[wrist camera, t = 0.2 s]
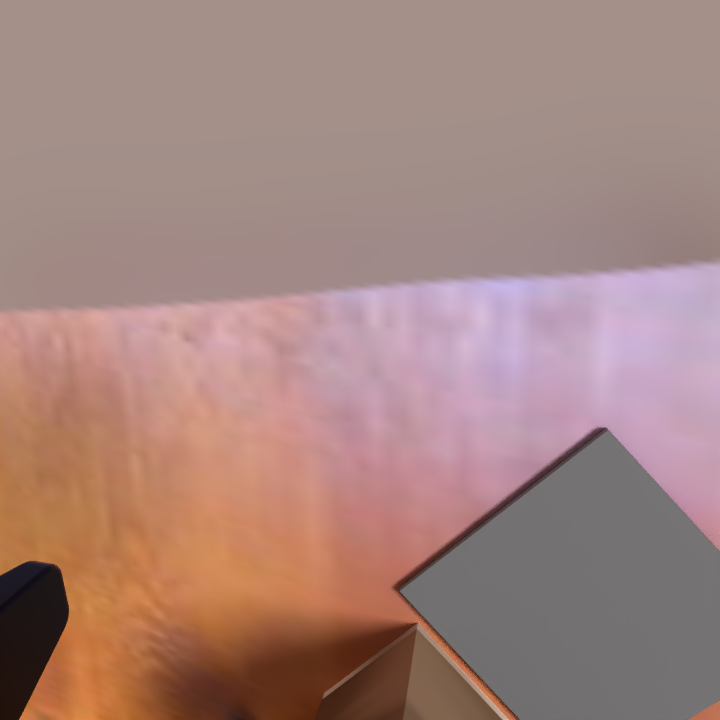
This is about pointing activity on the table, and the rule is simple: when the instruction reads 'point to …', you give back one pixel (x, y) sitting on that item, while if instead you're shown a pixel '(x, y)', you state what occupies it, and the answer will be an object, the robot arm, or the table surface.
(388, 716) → the walnut block
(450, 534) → the table surface
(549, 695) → the mat
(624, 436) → the table surface
